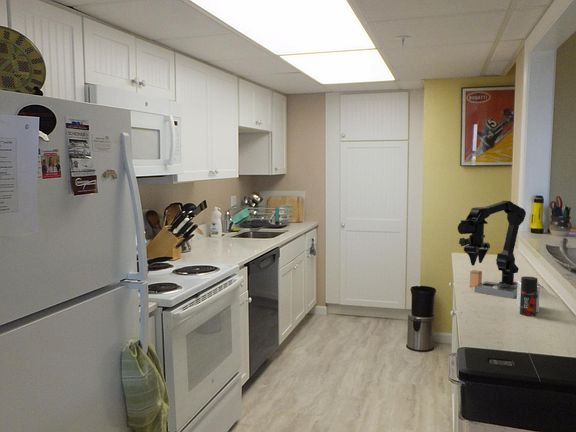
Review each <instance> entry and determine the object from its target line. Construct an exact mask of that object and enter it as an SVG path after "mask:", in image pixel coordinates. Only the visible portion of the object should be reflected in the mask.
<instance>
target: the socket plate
mask: <svg viewBox="0 0 576 432" xmlns="http://www.w3.org/2000/svg"><path fill="white" fill-rule="evenodd" d="M477 292H478V293H477ZM474 293H477V294H482V295H484V294H485V295H491V296H497V297H501V298H508V299H516V298H517V285H515V284H513V285H508V284H502V283H499V282H494V281H493V282H492V281H487V280H486V281H484V282H483V281H482V283H481V284H478V285H476V286H475V288H474Z"/></svg>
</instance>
